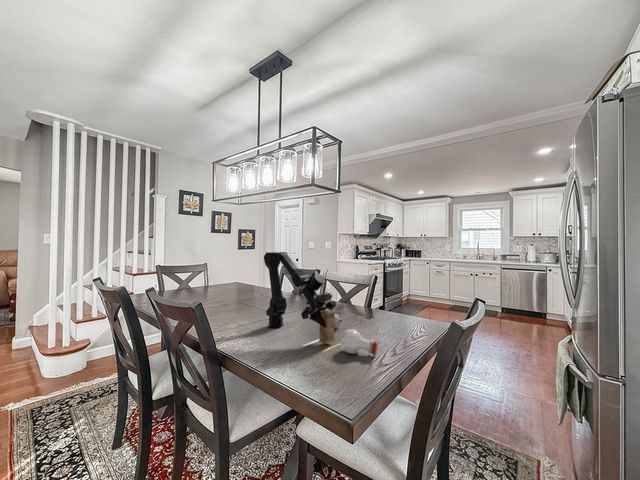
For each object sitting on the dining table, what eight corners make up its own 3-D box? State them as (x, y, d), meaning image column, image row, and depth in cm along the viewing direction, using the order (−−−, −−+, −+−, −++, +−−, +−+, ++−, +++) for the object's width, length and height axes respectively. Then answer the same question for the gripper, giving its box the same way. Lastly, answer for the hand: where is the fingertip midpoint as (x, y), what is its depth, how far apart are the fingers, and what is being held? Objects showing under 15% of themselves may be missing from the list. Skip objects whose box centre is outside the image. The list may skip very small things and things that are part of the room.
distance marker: (324, 351, 111) (324, 351, 111) (322, 351, 111) (322, 351, 111) (344, 342, 121) (344, 342, 121) (342, 342, 122) (342, 341, 122)
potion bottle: (339, 352, 114) (374, 363, 108) (334, 345, 106) (372, 357, 100) (345, 331, 118) (379, 340, 112) (341, 323, 111) (377, 332, 105)
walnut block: (319, 341, 119) (319, 310, 119) (326, 338, 122) (326, 308, 122) (327, 344, 116) (327, 312, 116) (334, 341, 119) (334, 310, 119)
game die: (335, 334, 143) (346, 318, 145) (335, 333, 135) (346, 316, 137) (321, 324, 145) (332, 308, 148) (320, 323, 137) (331, 306, 140)
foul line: (304, 346, 116) (304, 346, 116) (301, 345, 117) (301, 345, 117) (331, 336, 129) (331, 336, 129) (328, 335, 130) (328, 335, 130)
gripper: (306, 288, 115) (325, 320, 107) (334, 283, 128) (352, 311, 121) (293, 303, 120) (310, 334, 113) (321, 297, 134) (338, 324, 126)
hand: (329, 325), depth 118 cm, fingers closed on walnut block, 5 cm apart
